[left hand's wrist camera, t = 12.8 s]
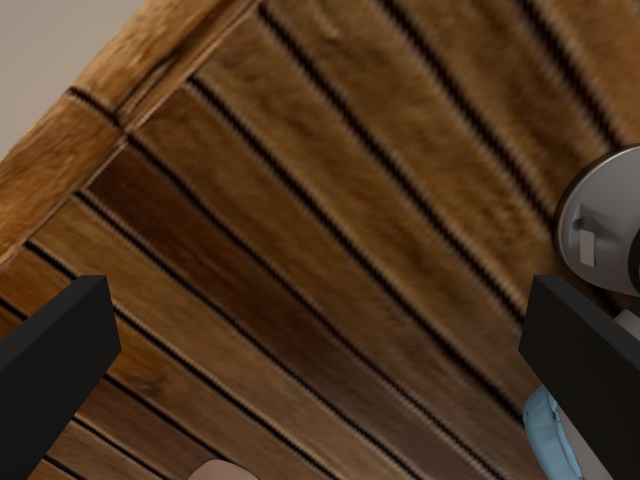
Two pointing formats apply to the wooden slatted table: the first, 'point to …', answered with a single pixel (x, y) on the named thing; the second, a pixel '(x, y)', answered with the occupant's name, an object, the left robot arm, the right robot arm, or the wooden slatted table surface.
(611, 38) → the wooden slatted table surface
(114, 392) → the wooden slatted table surface
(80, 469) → the wooden slatted table surface
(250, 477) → the anatomical model
